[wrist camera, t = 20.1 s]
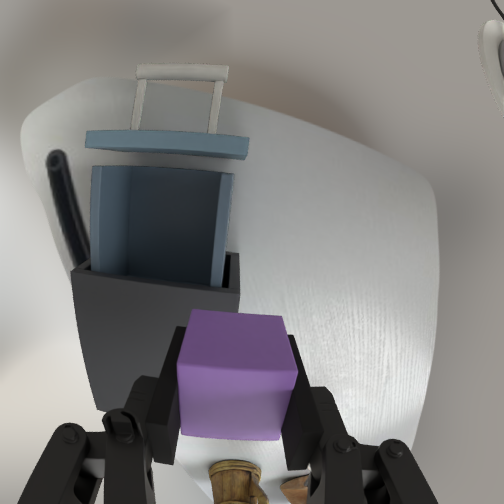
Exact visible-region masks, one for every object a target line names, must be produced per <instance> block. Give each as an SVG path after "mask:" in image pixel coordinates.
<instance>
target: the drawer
mask: <svg viewBox="0 0 504 504" xmlns="http://www.w3.org/2000/svg"><path fill="white" fill-rule="evenodd" d="M228 70H229V66H226V65H213V64H191V63H155V64H139V65H138V67H137V69H136V78H137V80H138V85H137V90H136V96H135V101H134V107H133V114H132V120H131V127H130V130H98V131H87V133H86V141H85V148H95V149H104V150H113V151H121V152H146V153H167V154H183V155H196V156H208V157H219V158H228V159H237V160H245V158H246V157H247V154H248V146H249V139H250V138H248V137H240V136H231V135H221V134H216V131H217V123H218V116H219V109H220V103H221V96H222V90H223V82H224V83H226V82H227V78H228ZM147 80H191V81H192V80H193V81H211V82H215V85H214V91H213V97H212V104H211V110H210V117H209V124H208V132H207V133H197V132H181V131H158V130H139V128H140V121H141V115H142V108H143V102H144V97H145V91H146V86H147ZM234 176H235V174H233V173H224V172H214V171H203V170H192V169H179V168H165V167H147V166H93V167H92V179H91V199H90V255H91V271H96V272H103V273H110V274H116V275H123V276H131V277H138V278H145V279H153V280H161V281H168V282H177V283H185V284H193V285H202V286H211V287H220V288H222V284H223V274H224V264H225V255H226V245H227V236H228V227H229V218H230V209H231V201H232V192H233V184H234Z"/></svg>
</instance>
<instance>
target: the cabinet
mask: <svg viewBox="0 0 504 504" xmlns="http://www.w3.org/2000/svg"><path fill="white" fill-rule="evenodd" d="M71 282H72V292H73V300H74V308H75V314H76V320H77V327H78V333H79V338H80V344H81V348H82V353H83V358H84V362H85V367H86V371H87V375H88V379H89V383H90V387H91V390H92V394H93V398H94V401H95V404H96V408H97V410H100V411H103V412H108V411H110V410H112V409H117V408H124V406H125V403H126V401H127V398H128V396H129V393H130V391H131V388H132V386H133V384H134V381H136V380H137V379H138V378H139V377H140V376H141V375H145V376H151V377H157V378H159V376H160V373H161V370H162V367H163V364H164V361H165V358H166V355H167V352H168V349H169V346H170V343H171V340H172V337H173V334H174V332H175V329H176V326H183V327H187V325H188V322H189V318H190V315H191V311H192V309H199V310H209V311H220V312H232V313H238V309H239V301H240V265H239V253H230V252H226V255H225V264H224V274H223V284H222V288H220V287H211V286H202V285H193V284H185V283H177V282H168V281H161V280H153V279H145V278H138V277H131V276H123V275H116V274H110V273H103V272H96V271H91V258H90V259H88V260H87V261H85V262H84V263H82V264H81V265H79V266H78V267H76V268H75V269H73V270H72V271H71Z"/></svg>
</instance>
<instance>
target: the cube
mask: <svg viewBox="0 0 504 504" xmlns="http://www.w3.org/2000/svg"><path fill="white" fill-rule="evenodd" d="M297 374H298V369H297V366H296V363H295V359H294V356H293V352H292V349H291V346H290V342H289V339H288V335H287V332H286V329H285V325H284V322H283V318H282V316H274V315H259V314H245V313H232V312H220V311H209V310H199V309H192V311H191V315H190V318H189V322H188V325H187V328H186V332H185V335H184V339H183V342H182V346H181V350H180V353H179V357H178V360H177V381H178V398H179V413H180V427H181V434H182V435H186V436H194V437H204V438H215V439H230V440H261V441H271V440H279V438H280V435H281V429H282V425H283V422H284V419H285V415H286V412H287V408H288V405H289V401H290V397H291V394H292V390H293V389H294V386H295V382H296V378H297Z"/></svg>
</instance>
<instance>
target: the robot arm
mask: <svg viewBox="0 0 504 504" xmlns="http://www.w3.org/2000/svg"><path fill="white" fill-rule="evenodd" d="M491 2H492V4H493V5H494V7H495V8H496V10H497V11H498V13H499V14H500V15H501V17H502V18H503V20H504V14H503V13H502V11H501V10H500V9H499V7H498V6H497V4H496V2H495V0H491ZM498 55H499V62H500V67H501V71H502V74H503V77H504V40H502V41H501V42H500V44H499V49H498ZM186 328H187V327H183V326H176V329H175V332H174V334H173V337H172V340H171V343H170V346H169V349H168V352H167V355H166V358H165V361H164V364H163V367H162V370H161V373H160V376H159V378H157V377H151V376H145V375H141V376H140V377H139V378H138V379H137V380H136V381H134V384H133V386H132V388H131V391H130V393H129V396H128V398H127V401H126V403H125V406H124V408H117V409H112V410H110V411H108V412H107V413H106V414H105V415H104V416H103V419H102V422H103V425H104V428H105V431H104V432H86V431H85V430H84V429H83V428H82V427H81V426H80V425H78V424H75V423H64V424H62V425H60V426H59V427H58V428H57V429H56V430H55V432H54V433H53V435H52V437H51V439H50V441H49V442H48V444H47V446H46V448H45V450H44V451H43V453H42V455H41V457H40V459H39V461H38V463H37V465H36V466H35V469H34V470H33V473H32V474H31V476H30V478H29V480H28V482H27V484H26V486H25V488H24V490H23V493H22V495H21V497H20V499H19V501H18V503H17V504H94V503H95V500H96V497H97V494H98V491H99V488H100V485H101V482H102V479H103V478H104V504H156V502H155V493H154V483H153V472H152V468H151V463H152V458H153V459H154V462H157V463H163V464H169V465H173V464H174V458H175V452H176V446H177V440H178V435H179V429H180V413H179V398H178V381H177V360H178V357H179V353H180V350H181V346H182V342H183V339H184V335H185V332H186ZM288 339H289V342H290V346H291V349H292V352H293V356H294V359H295V363H296V366H297V369H298V374H297V378H296V382H295V386H294V389H293V390H292V394H291V397H290V401H289V405H288V408H287V412H286V415H285V419H284V422H283V425H282V429H281V434H282V440H283V446H284V452H285V458H286V464H287V469H288V471H291V470H305V469H307V467H308V465H309V463H310V467H311V473H310V474H309V476H308V478H307V480H306V481H305V484H304V486H307V485H308V490H307V502H306V504H438V502H437V500H436V498H435V496H434V494H433V492H432V491H431V488H430V487H429V485H428V483H427V481H426V479H425V477H424V475H423V473H422V472H421V470H420V468H419V466H418V464H417V463H416V461H415V459H414V457H413V455H412V453H411V452H410V450H409V448H408V447H407V445H406V444H405V443H404V442H402V441H400V440H397V439H388V440H386V441H383V443H382V444H381V445H380V446H371V445H364V444H360V443H358V441H357V440H356V439H355V438H354V437H352V436H350V435H348V433H347V431H346V428H345V426H344V423H343V421H342V418H341V415H340V413H339V410H338V408H337V405H336V403H335V400H334V398H333V395H332V393H331V392H330V391H329V390H328V389H327V388H326V387H325V386H323V387H310V384H309V381H308V378H307V375H306V372H305V369H304V366H303V363H302V360H301V357H300V353H299V350H298V347H297V344H296V341H295V338H294V335H288Z"/></svg>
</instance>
